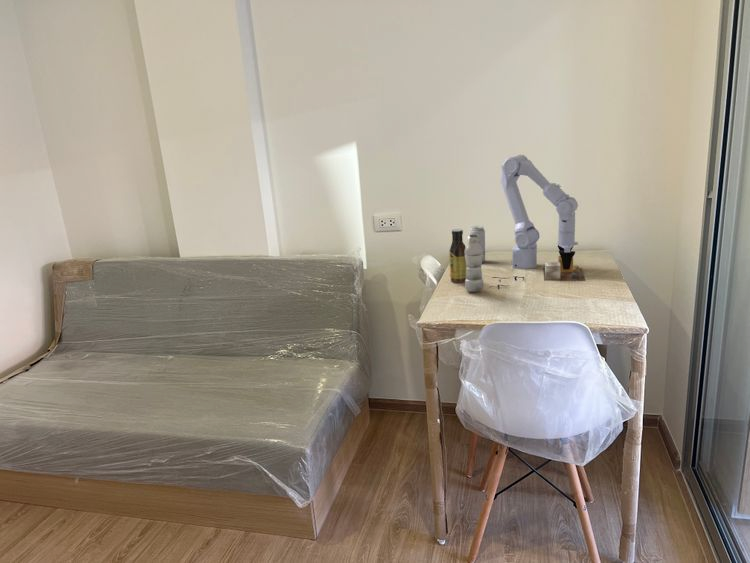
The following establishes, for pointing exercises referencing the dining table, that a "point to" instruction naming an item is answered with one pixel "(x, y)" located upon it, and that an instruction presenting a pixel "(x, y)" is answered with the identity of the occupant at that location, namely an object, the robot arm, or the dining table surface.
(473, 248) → the plastic bottle
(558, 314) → the dining table surface
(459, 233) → the sauce bottle
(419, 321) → the dining table surface
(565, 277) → the board
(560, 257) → the kraft paper cube
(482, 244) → the energy drink can
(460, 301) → the dining table surface
